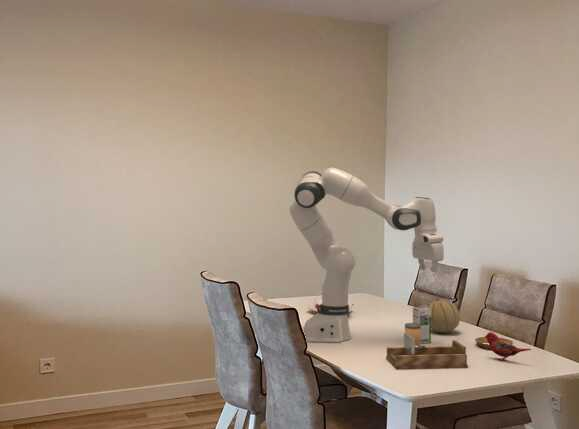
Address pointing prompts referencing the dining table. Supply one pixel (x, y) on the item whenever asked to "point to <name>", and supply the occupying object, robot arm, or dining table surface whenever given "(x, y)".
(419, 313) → the syrup box
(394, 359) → the shallow wooden crate
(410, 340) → the pusher
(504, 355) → the decorative bird figurine
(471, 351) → the dining table surface
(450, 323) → the cantaloupe
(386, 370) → the dining table surface
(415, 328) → the jar
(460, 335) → the dining table surface
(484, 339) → the plant saucer
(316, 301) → the crumpled cloth
